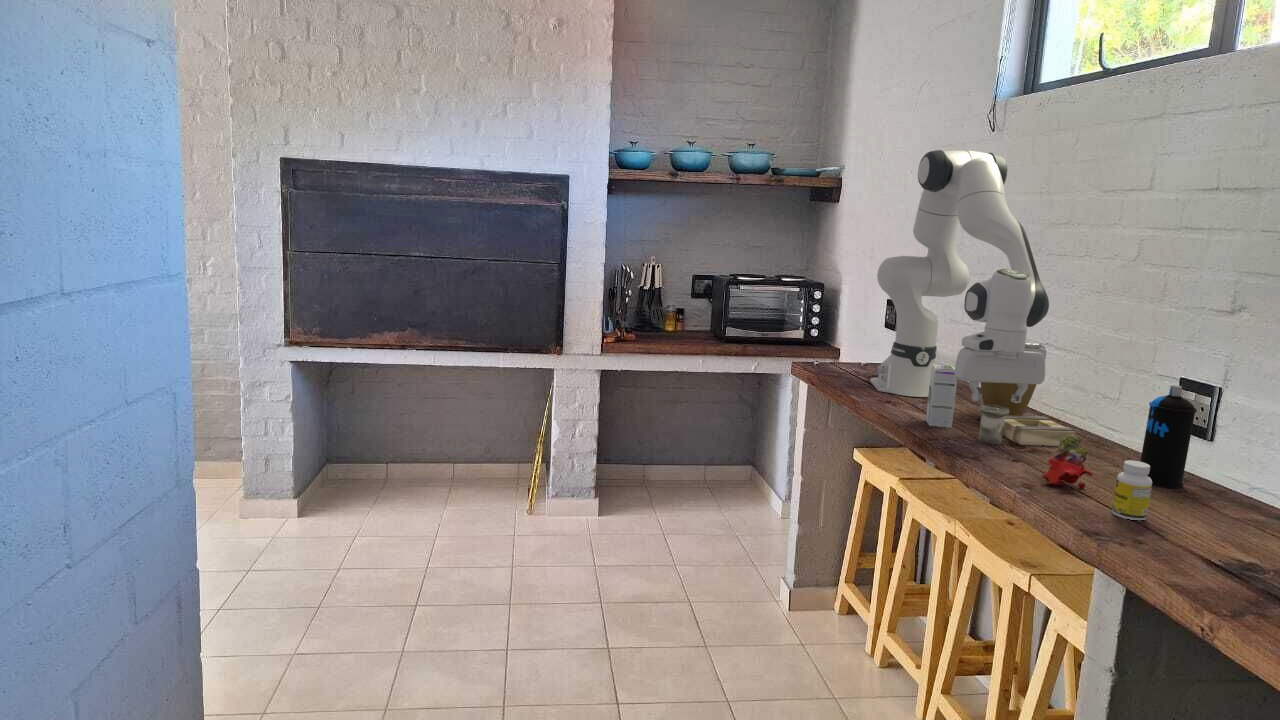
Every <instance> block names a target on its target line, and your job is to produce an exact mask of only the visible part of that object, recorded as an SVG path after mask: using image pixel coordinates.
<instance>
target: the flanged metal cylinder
mask: <svg viewBox="0 0 1280 720" xmlns="http://www.w3.org/2000/svg"><path fill="white" fill-rule="evenodd" d="M978 407H979V408H978V411H979V412H980V413H981V416H980V422H979V432H978V441H979V442H981V443H984V442H985V443H984V444H988V443H990V444H991V445H1000V444H1002V440H1003V436H1002V435H1003V428H1004V421H1005V415H1008V414H1009V409H1008V408H1006V407H1003V406H998V405H991V404H984V403H982V404H980V405H978ZM990 444H989V445H990Z"/></svg>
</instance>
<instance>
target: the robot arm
mask: <svg viewBox="0 0 1280 720" xmlns="http://www.w3.org/2000/svg"><path fill="white" fill-rule="evenodd" d="M1007 176H1008V164H1007V162H1006V159H1005V158H1004V157H1003V156H1001V155H1000V154H996V153H993V152H987V153H986V152H982V151H976V150H967V149H965V150H942V149H936V150H930V151H928V152H926V153H925V154H924V155H923V156H922V158H921V159H920V162H919V164H918V170H917V179H918V180H917V181H918V183H919V185H920V186H921V188H922V193H921V196H920V199H919V203H918V206H917V211H916V216H915V221H914V226H913V228H912V232H913V236H914V238H915V240H916V241H917V242H919V244H921V245H923V246H924V247H925V248H927V255H926V256H913V255H910V256H909V255H900V256H892V257H891V256H890V257H887V258H885V259H884V260H883V261H882V262H881V264H880V265H879V267H878V270H877V273H876V274H877V275H876V276H877V277H876V278H877V281H878V285H879V287H880V289H881V290H882V291H883V292H885V293H886V294H887V295H888V297H889V298H890V299H891V301H892V304H893V305H894V307H895V308H894V309H895V311H896V329H895V330H896V331H895V341H893V342H892V346H891V351H890V355H889V356H888V357H887V358H886V359H884V361H883V362H881V363H880V365H878V366H876V374H878V377H871V378H870V379H869V382H870V383H871V384H872V385H873V387H874V388H875V390H877V391H878V392H884V393H889V394H894V395H898V396H899V395H900V396H906V397H915V398H928V395H929V385H930V376H931V368H932V365H938V364H937V362H936V361H935V359H936V357H937V353H938V351H937V349H938V347H937V345H936V343H937V336H938V329H939V327H938V326H939V320H938V317H937V316H936V314H935V313H933V312H932V311H931V310H929V309H927V308H926V307H925V306H923V300H922V299H923V298H922V297H938V298H946V297H947V298H948V297H953V296H959V295H960V296H961V295H962V294H963V293H964V292H965V291H966V289H967V288H968V286H969V284H970V277H971V276H970V270H969V268H968V266H967V264H966V263H965V262H964V261H963V260H962V259H961V257H960V256H959V254H958V252H957V249H956V237H957V229H958V224H960V226H961V228H962V229H963V231H964V232H965V233H966V234H968V235H969V236H970V237H972V238H974V239H977V240H979V241H983V242H984V243H988V244H990V245H991V246H994V247H995V248H997V249H999V250H1000V251H1002V253H1004V254H1005V256H1006V257H1007V259H1008V262H1009V266H1010V268H1001V269H998V270H995V272H993V275H992V277H990V278H989V279H986V280H983V281H980V282H975V283H974V284H973V285H971V286H970V287H969V288H968V289H967V291H966V293H965V297H964V308H963V309H964V311H965V313H966V314H967V316H968V317H969V318H970V319H971V320H972V321H975V322H979V323H985V325H984V331H981V332H978V333H974V334H970V335H967V336H964V337H962V339H961V346H963V347H962V348H961V349H959V352H958V354H957V357H956V360H955V366H954V367H955V372H954V374H955V376H956V378H957V381H958V380H959V381H961V382H965V383H966V382H967V383H968V386H969V388H970V390H971V392H972V396H971V401H973V402H983V398H982V393H980V392H979V389H978V388H979V387H980V384H981V383H980V382H990V383H1016V384H1017V387H1019V388H1018V390H1017V391H1016V393H1015V394H1012V395H1011V397H1012V398H1011V402H1014V403H1021V397H1022V395H1023V394H1024V393H1025V391H1026V390H1027V389H1028V384H1037V385H1042V384H1043V382H1044V381H1045V379H1046V358H1047V349H1046V348H1045V346H1044V345H1042V344H1041V343H1030V342H1026V341H1027V335H1028V328H1031V327H1034V326H1035V325H1038V324H1039V323H1040V322H1041V321H1042V320H1043V319H1044V318H1045V317H1047V315H1048V312H1049V308H1050V302H1049V296H1048V293H1047V291H1046V289H1045V288H1044V287H1045V286H1044V285H1043V283H1042V281H1041V278H1040V275H1039V272H1038V269H1037V265H1036V261H1035V258H1034V255H1033V252H1032V249H1031V245H1030V242H1029V239H1028V236H1027V233H1026V230H1025V228H1024V226H1023V225H1022V224H1021V223H1020V222H1019V221H1017V219H1016V218H1015V217H1014V216H1013V215H1012V213H1011V211H1010V209H1009V207H1008V203H1007V199H1006V198H1007V197H1006V192H1005V187H1004V185H1005V183H1006V181H1007V178H1008V177H1007Z"/></svg>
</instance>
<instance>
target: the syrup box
mask: <svg viewBox="0 0 1280 720" xmlns="http://www.w3.org/2000/svg"><path fill="white" fill-rule="evenodd" d="M954 372H955V366H953V365H947V364H937V365H932V368H931V376H930V385H929V395H928V397H927V402H926V403H927V405H926V413H925V415H926V417H925V422H926V423H927V425H928V426H929V427H935V426H937V428H944V427H945V429H952V428H953V422H954V421H953V420H954V414H955V413H954V412H955V407H956V406H955V405H956V404H955V403H956V393H957V388H958V387H957V386H958V385H957V384H958V379H957V378H956V376H955V374H954Z"/></svg>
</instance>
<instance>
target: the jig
mask: <svg viewBox="0 0 1280 720" xmlns="http://www.w3.org/2000/svg"><path fill="white" fill-rule="evenodd" d="M1004 436H1005V438H1007V439H1008V440H1010V441H1011V442H1014V443H1016V444H1017V443H1018V445H1019V444H1020V446H1021V445H1022V446H1042V445H1044V446H1046V447H1047V446H1048V447H1049V446H1051V447H1058V446H1059V444H1060V440H1061V439H1063V438H1064V437H1066V436H1076V430H1075V429H1073V428H1071V427H1067V426H1064V425H1061V424H1059V423H1057V422H1055V421H1052V420H1051V418H1049V417H1047V416H1041V415H1040V416H1038V415H1037V416H1036V415H1022V416H1012V415H1005V421H1004V428H1003V436H1002V437H1004ZM1044 446H1043V447H1044Z"/></svg>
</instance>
